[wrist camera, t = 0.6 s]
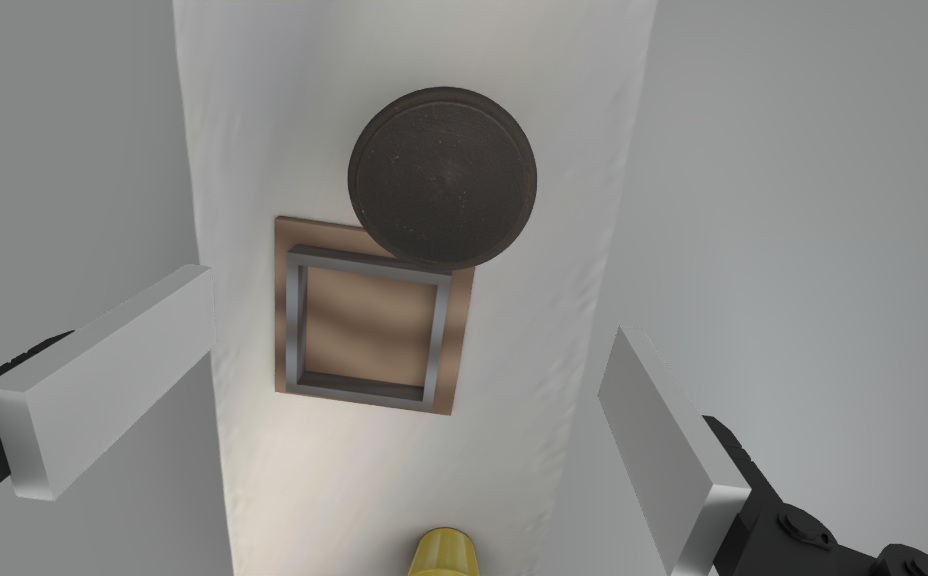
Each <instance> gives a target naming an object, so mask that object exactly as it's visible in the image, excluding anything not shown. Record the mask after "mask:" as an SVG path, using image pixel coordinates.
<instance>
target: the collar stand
mask: <svg viewBox="0 0 928 576" xmlns="http://www.w3.org/2000/svg"><path fill="white" fill-rule="evenodd" d="M474 270H475V266H474V267H471V268H466V269H461V270H452V271H440V270H432V269H426V268H422V267H418V266H415V265H412V264H409V263H407V262H405V261H403V260H401V259H399V258H397V257H395V256H394V255H392V254H391V253H390V252H388V251H386V250H385V249H384V248H382V247H381V246H380V245H378V244H377V243H376V242H375V241H374V240H373V239H372V237H371V236H370V235H369V234H368V233H367V231H366V230H365V229H364V228H359V227H352V226H345V225H339V224H332V223H325V222H318V221H312V220H305V219H298V218H291V217H284V216H279V217H277V218H275V392H280V393H288V394H295V395H302V396H310V397H317V398H324V399H332V400H339V401H346V402H354V403H361V404H368V405H376V406H383V407H391V408H398V409H405V410H413V411H420V412H427V413H435V414H442V415H449V416H451V412H452V406H453V400H454V394H455V387H456V381H457V375H458V369H459V363H460V357H461V350H462V344H463V338H464V332H465V326H466V320H467V313H468V307H469V301H470V295H471V289H472V283H473V276H474Z"/></svg>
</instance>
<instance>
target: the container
mask: <svg viewBox="0 0 928 576" xmlns="http://www.w3.org/2000/svg"><path fill="white" fill-rule="evenodd" d="M348 190H349V195H350V200H351V203H352V206H353V209H354V211H355V213H356V216H357V218H358V219H359V221H360V223H361V224H362V226H363V227H364V229H365V230H366V231H367V233H368V234H369V235H370V236H371V237H372V239H373V240H374V241H375V242H376V243H377V244H378V245H380V246H381V247H382V248H384V249H385V250H386V251H388V252H390V253H391V254H392V255H394V256H395V257H397V258H399V259H401V260H403V261H405V262H407V263H409V264H412V265H415V266H418V267H422V268H426V269H432V270H440V271H452V270H461V269H466V268H471V267H474V266H477V265H480V264H482V263H484V262H487V261H489V260H491V259H492V258H494V257H496V256H497V255H499V254H500V253H501V252H503V251H504V250H505V249H506V248H507V247H509V246H510V245H511V244H512V243H513V242H514V240H515V239H516V238H517V237H518V236H519V234H520V233H521V231H522V230H523V228H524V227H525V225H526V223H527V221H528V219H529V217H530V214H531V212H532V209H533V206H534V202H535V197H536V191H537V168H536V163H535V159H534V155H533V152H532V149H531V146H530V144H529V141H528V139H527V137H526V135H525V133H524V132H523V130H522V129H521V127H520V126H519V124H518V123H517V121H516V120H515V119H514V118H513V117H512V116H511V115H510V114H509V113H508V112H507V111H506V110H505V109H503V108H502V107H501V106H500V105H498V104H497V103H495V102H494V101H492V100H491V99H489V98H487V97H485V96H483V95H481V94H479V93H476V92H473V91H470V90H466V89H462V88H455V87H433V88H426V89H422V90H417V91H415V92H412V93H409V94H407V95H405V96H402V97H400V98H398V99H397V100H395V101H393V102H391V103H390V104H389V105H387V106H386V107H385V108H384V109H382V110H381V111H380V112H379V113H378V114H376V115H375V116H374V118H373V119H372V120H371V121H370V122H369V123H368V124H367V126H366V127H365V128H364V130H363V131H362V133H361V135H360V136H359V138H358V140H357V142H356V144H355V147H354V149H353V152H352V155H351V158H350V162H349V167H348Z"/></svg>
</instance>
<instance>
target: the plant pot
mask: <svg viewBox="0 0 928 576" xmlns="http://www.w3.org/2000/svg"><path fill="white" fill-rule="evenodd" d="M407 576H480V574H479V570H478V565H477V560H476V555H475V551H474V546H473V543H472V542H471V540H470V539H469V538H468V537H467V536H466V535H465V534H464V533H462V532H460V531H458V530H455V529H450V528H439V529H434V530H432V531H430V532H428V533H427V534H425V535H424V536H423V537H422V539H421V540H420V543H419V545H418V548H417V551H416V553H415V556H414V558H413V561H412V564H411V566H410V569H409V571H408V574H407Z"/></svg>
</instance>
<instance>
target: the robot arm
mask: <svg viewBox="0 0 928 576" xmlns="http://www.w3.org/2000/svg"><path fill="white" fill-rule="evenodd" d="M216 343H217V333H216V319H215V306H214V292H213V279H212V267H206V266H199V265H192V264H186V265H184V266H183V267H181V268H179V269H178V270H176V271H175V272H173V273H171V274H169V275H168V276H166V277H164V278H163V279H161V280H159V281H158V282H156V283H155V284H153V285H151V286H150V287H148V288H146V289H145V290H143V291H141V292H140V293H138V294H136V295H134V296H133V297H131V298H129V299H128V300H126V301H124V302H123V303H121V304H119V305H118V306H116V307H114V308H113V309H111V310H109V311H108V312H106V313H104V314H103V315H101V316H99V317H98V318H96V319H94V320H93V321H91V322H89V323H88V324H86V325H84V326H83V327H81V328H80V329H78V330H76V331H75V330H72V331H69V332H66V333H63V334H61V335H57V336H55V337H52V338H49V339H47V340H45V341H43V342H41V343H40V344H38V345H36V346H35V347H33V348H31V349H29V350H28V352H27V353H23V354H21V355H19V356H17V357H16V358H14V359H12V360H11V362H10V363H8V362H7V363H5V364H3V365H2V366H0V482H2V481H3V480H4V479H5V478H6V477H8V476H9V475H10V477H11V480H12V483H13V487H14V490H15V493H16V496H18V497H25V498H33V499H41V500H49V501H55V500H56V499H57V497H59V496H60V495H61V494H62V493H63V492H64V491H65V490H66V489H67V488H68V487H69V486H70V485H71V484H72V483H73V482H74V481H75V480H76V479H77V478H78V477H79V476H80V475H81V474H82V473H83V472H84V471H86V469H88V467H90V466H91V465H92V464H93V463H94V462H95V461H96V460H97V459H98V458H99V457H100V456H101V455H102V454H103V453H104V452H105V451H106V450H107V449H108V448H109V447H110V446H111V445H112V444H113V443H114V442H115V441H116V440H117V439H118V438H119V437H120V436H122V435H123V433H125V432H126V431H127V430H128V429H129V428H130V427H131V426H132V425H133V424H134V423H135V422H136V421H137V420H138V419H139V418H140V417H141V416H142V415H143V414H144V413H145V412H146V411H147V410H148V409H149V408H150V407H151V406H153V405H154V403H156V402H157V401H158V399H160V398H161V397H162V396H163V395H164V394H165V393H166V392H167V391H168V390H169V389H170V388H171V387H172V386H173V385H174V384H175V383H176V382H177V381H178V380H179V379H180V378H181V377H182V376H183V375H184V374H185V373H187V371H189V369H191V368H192V367H193V366H194V365H195V364H196V363H197V362H198V361H199V360H200V359H201V358H202V357H203V356H204V355H205V354H206V353H207V352H208V351H209V350H210V349H211V348H212V347H213V346H214V345H215V344H216ZM598 397H599V400H600V403H601V405H602V407H603V410H604V413H605V415H606V418H607V421H608V423H609V426H610V428H611V431H612V434H613V436H614V439H615V441H616V444H617V446H618V449H619V452H620V454H621V457H622V459H623V462H624V464H625V467H626V470H627V472H628V475H629V477H630V480H631V483H632V485H633V488H634V490H635V493H636V496H637V498H638V500H639V503H640V506H641V508H642V511H643V514H644V516H645V519H646V521H647V524H648V527H649V529H650V532H651V534H652V537H653V539H654V542H655V545H656V547H657V550H658V552H659V555H660V558H661V560H662V563H663V565H664V568H665V570H666V573H667V575H668V576H708V573H709V572H710V570H711V568H712V566H713V564H714V566H715V568H716V570H717V572H718V574H719V576H928V554H926V553H924V552H922V551H920V550H918V549H915V548H912V547H909V546H906V545H902V544H889V545H888V546H886V547H885V548H884V549H883V550H882V552H881V553H880V555H879V556H878V557H877V558H874V557H872V556H869V555H866V554H863V553H861V552H858V551H855V550H852V549H850V548H847V547H845V546H842V545H839V544H838V543H837V541H836V539H835V538H834V536H833V535H832V533H831V532H830V531H829V530H828V529H827V528H826V527H825V526H824V525H823V524H822V523H820V521H819V520H817V519H816V518H814V517H813V516H811V515H810V514H808V513H807V512H805V511H804V510H802V509H799V508H797V507H795V506H793V505H790V504H786V503H783V501H782V500H781V498H780V497H779V496H778V494H777V493H776V492H775V490H774V489H773V488H772V486H771V485H770V484H769V482H768V481H767V479H766V478H765V477H764V475H763V474H762V473H761V471H760V470H759V469H758V468H757V466H756V464H755V463H754V462H753V461H751V458H750V456H749V455H748V454H747V452H746V451H745V450H744V449H742V445H741V444H740V443H739V441H738V440H737V439H736V437H735V436H734V435H733V433H732V432H731V431H730V430H729V429H728V428H727V427H725V426H724V425H723V424H722V423H721V422H719V421H718V420H717V419H716V418H714V417H711V416H704V415H701V414H700V412H699V411H698V410H697V408H696V407H695V405H694V404H693V402H692V401H691V399H690V398H689V396H688V395H687V393H686V392H685V390H684V389H683V388H682V386H681V385H680V383H679V382H678V380H677V379H676V377H675V376H674V375H673V373H672V371H671V370H670V368H669V367H668V365H667V364H666V363H665V361H664V360H663V358H662V357H661V355H660V354H659V352H658V351H657V349H656V348H655V346H654V345H653V343H652V342H651V341H650V339H649V338H648V336H647V335H646V333H645V332H644V330H643V329H642V328H635V327H628V326H620V325H619V327H618V331H617V334H616V337H615V340H614V344H613V347H612V350H611V353H610V357H609V360H608V363H607V367H606V370H605V373H604V376H603V379H602V383H601V386H600V389H599V392H598Z"/></svg>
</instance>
